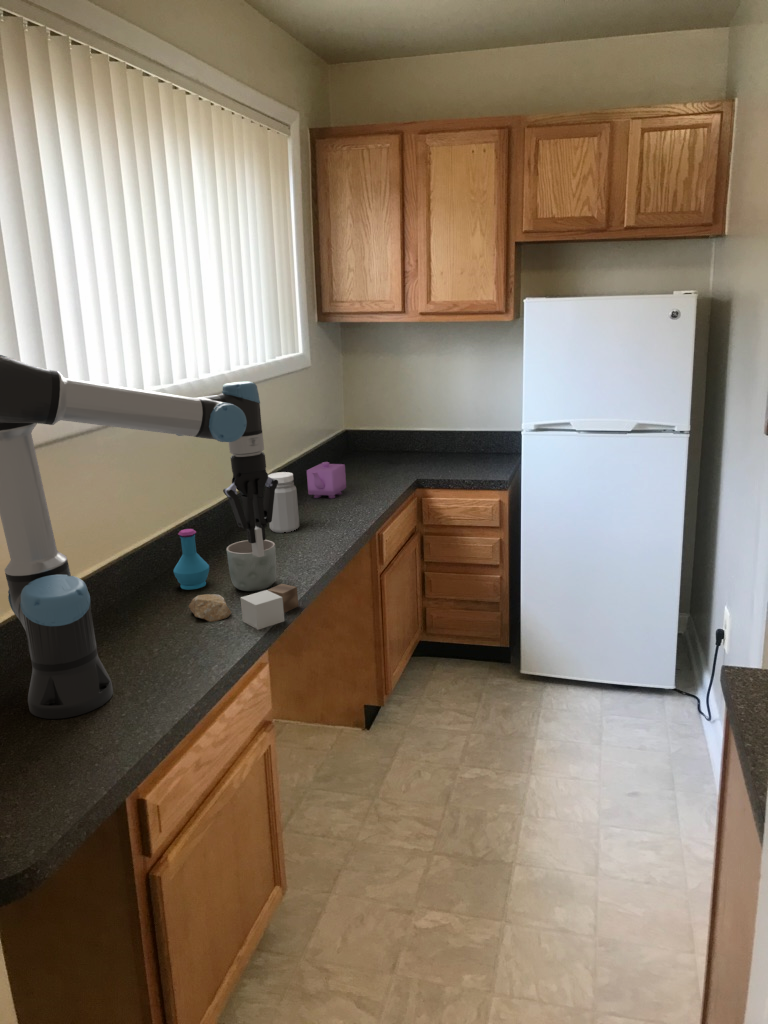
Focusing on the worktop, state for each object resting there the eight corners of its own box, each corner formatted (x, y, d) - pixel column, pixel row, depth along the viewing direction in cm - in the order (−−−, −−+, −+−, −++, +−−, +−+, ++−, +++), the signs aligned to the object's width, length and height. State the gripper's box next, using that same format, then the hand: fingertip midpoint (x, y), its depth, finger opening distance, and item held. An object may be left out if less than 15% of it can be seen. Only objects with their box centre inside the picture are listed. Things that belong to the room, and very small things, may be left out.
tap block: (258, 630, 190) (255, 605, 188) (242, 621, 195) (240, 597, 193) (284, 621, 194) (282, 597, 192) (268, 613, 199) (266, 589, 198)
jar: (295, 533, 265) (291, 477, 260) (265, 533, 267) (260, 478, 262) (303, 525, 274) (298, 471, 270) (274, 525, 276) (269, 471, 271)
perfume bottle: (192, 577, 228) (186, 524, 224) (218, 582, 223) (212, 527, 219) (168, 588, 220) (161, 533, 217) (194, 593, 216) (187, 537, 212)
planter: (242, 598, 210) (238, 556, 207) (223, 585, 220) (218, 545, 217) (286, 586, 217) (283, 546, 214) (265, 575, 227) (262, 536, 224)
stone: (221, 604, 207) (219, 587, 206) (233, 618, 198) (231, 600, 197) (187, 611, 204) (185, 594, 202) (198, 626, 194) (195, 607, 193)
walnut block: (284, 613, 199) (282, 593, 197) (269, 609, 202) (267, 589, 200) (298, 606, 203) (296, 586, 201) (283, 602, 206) (281, 583, 204)
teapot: (325, 489, 323) (322, 457, 320) (349, 490, 319) (347, 458, 316) (302, 502, 305) (299, 468, 302) (327, 503, 301) (324, 469, 298)
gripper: (229, 460, 178) (241, 566, 184) (281, 449, 185) (291, 551, 191) (212, 456, 183) (225, 559, 189) (264, 446, 191) (274, 545, 197)
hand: (258, 555), depth 190 cm, fingers closed
